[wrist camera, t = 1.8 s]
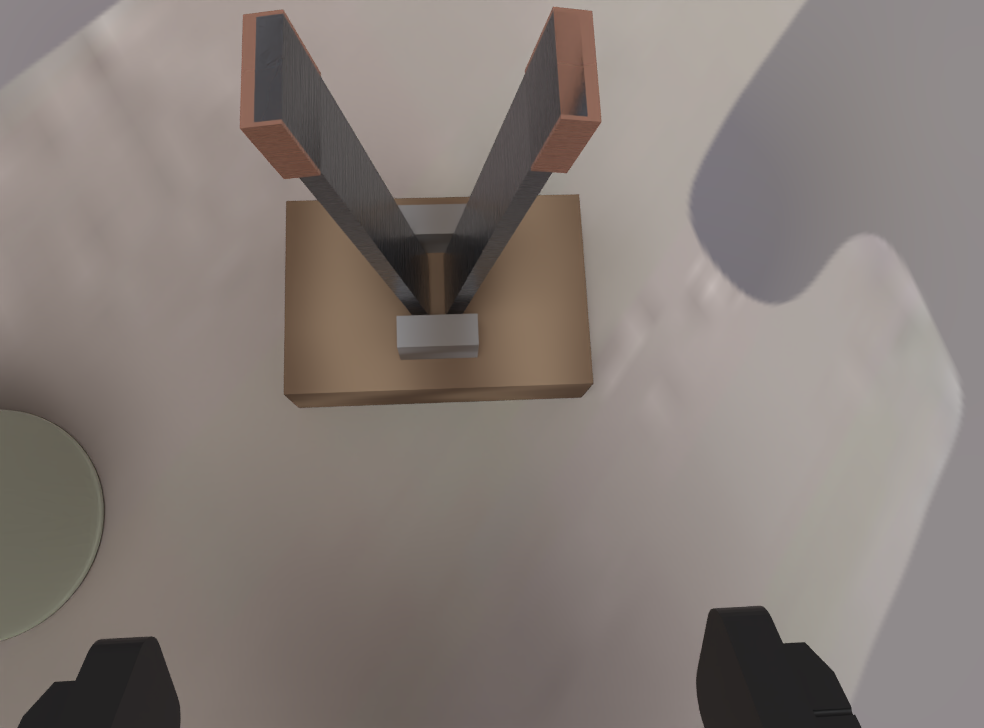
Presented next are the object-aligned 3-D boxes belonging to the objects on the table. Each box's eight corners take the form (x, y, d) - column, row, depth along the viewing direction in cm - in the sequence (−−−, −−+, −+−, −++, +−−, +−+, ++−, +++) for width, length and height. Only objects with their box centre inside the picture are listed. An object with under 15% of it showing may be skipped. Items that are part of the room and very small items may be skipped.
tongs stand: (298, 407, 34) (271, 384, 29) (300, 229, 35) (275, 179, 30) (581, 397, 34) (602, 372, 29) (569, 223, 36) (587, 172, 31)
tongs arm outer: (445, 319, 31) (561, 118, 17) (443, 253, 32) (552, 6, 17) (468, 319, 31) (601, 121, 17) (465, 254, 32) (592, 10, 18)
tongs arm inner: (407, 321, 31) (239, 128, 17) (405, 256, 32) (243, 14, 17) (429, 319, 31) (281, 123, 16) (428, 254, 32) (282, 9, 17)
